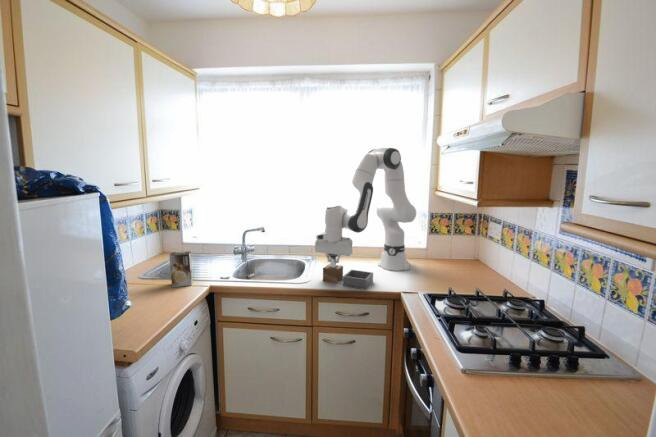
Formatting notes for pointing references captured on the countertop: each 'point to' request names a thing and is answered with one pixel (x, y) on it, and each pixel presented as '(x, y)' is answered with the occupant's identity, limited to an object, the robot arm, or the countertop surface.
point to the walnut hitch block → (333, 274)
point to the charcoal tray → (358, 279)
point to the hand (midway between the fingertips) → (333, 262)
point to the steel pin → (332, 260)
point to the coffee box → (181, 269)
